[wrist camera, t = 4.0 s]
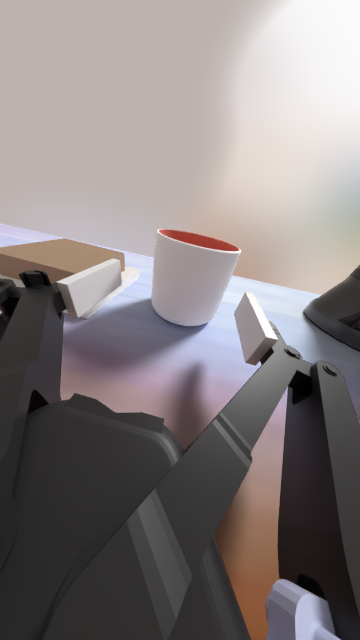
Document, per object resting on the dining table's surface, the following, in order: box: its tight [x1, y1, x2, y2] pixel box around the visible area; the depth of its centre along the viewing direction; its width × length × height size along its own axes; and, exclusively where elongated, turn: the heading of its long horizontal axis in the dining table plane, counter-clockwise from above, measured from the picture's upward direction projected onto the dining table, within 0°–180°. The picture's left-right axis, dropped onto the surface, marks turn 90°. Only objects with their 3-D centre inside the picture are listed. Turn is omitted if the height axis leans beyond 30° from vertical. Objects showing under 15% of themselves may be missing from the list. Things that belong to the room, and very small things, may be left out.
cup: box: [151, 229, 241, 326], centre depth 19 cm, size 10×10×10 cm
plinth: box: [0, 239, 140, 319], centre depth 22 cm, size 15×15×4 cm
